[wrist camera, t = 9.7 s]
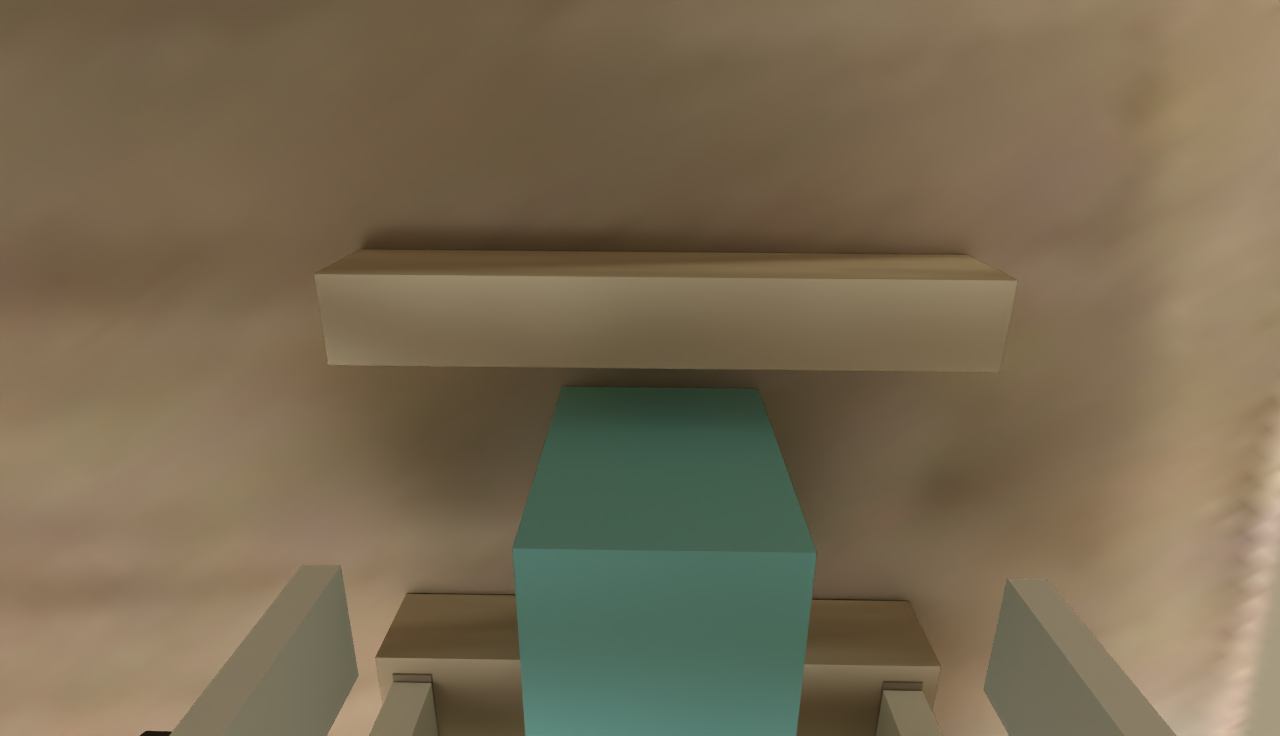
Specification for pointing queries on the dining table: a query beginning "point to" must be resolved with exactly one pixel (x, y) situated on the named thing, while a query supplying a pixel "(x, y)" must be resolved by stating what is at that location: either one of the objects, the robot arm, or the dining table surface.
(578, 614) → the teal block
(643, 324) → the beige rail frame
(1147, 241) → the dining table surface
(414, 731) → the cream bridge stand
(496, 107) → the dining table surface
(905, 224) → the dining table surface
